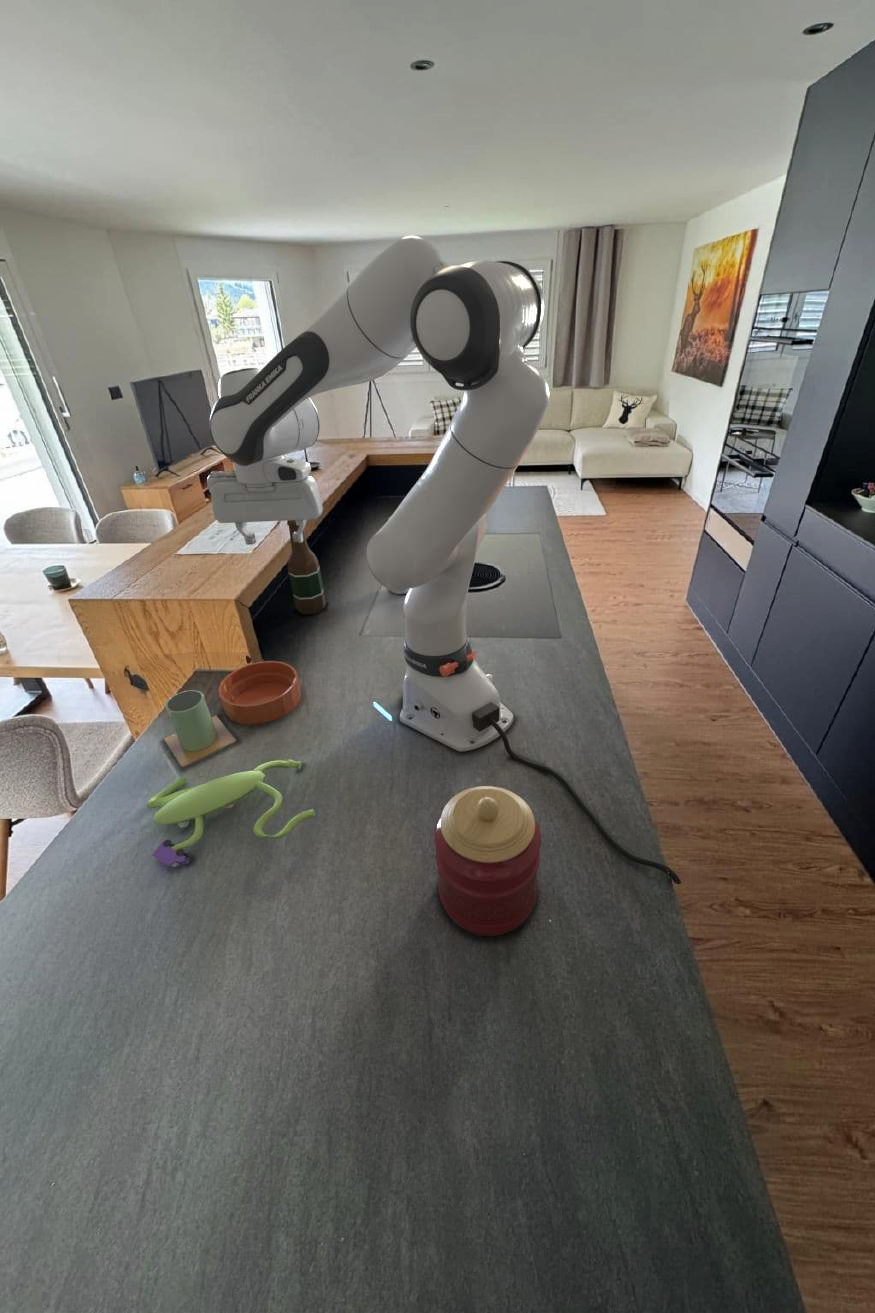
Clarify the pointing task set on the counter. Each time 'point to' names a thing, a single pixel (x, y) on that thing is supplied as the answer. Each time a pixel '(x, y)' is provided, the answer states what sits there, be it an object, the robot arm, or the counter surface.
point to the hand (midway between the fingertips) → (275, 542)
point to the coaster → (190, 756)
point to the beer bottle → (305, 575)
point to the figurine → (215, 807)
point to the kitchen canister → (487, 860)
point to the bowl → (260, 692)
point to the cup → (191, 720)
